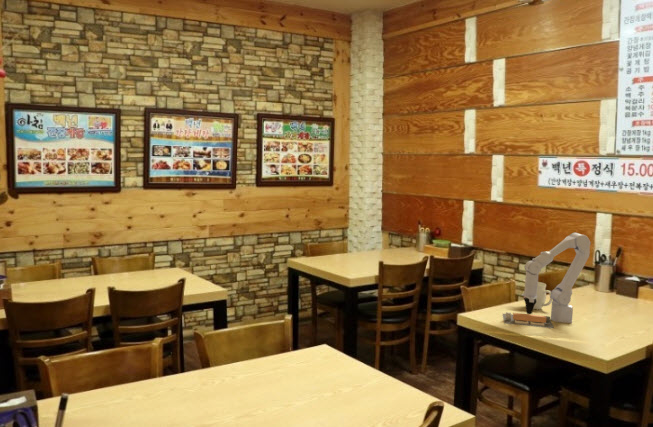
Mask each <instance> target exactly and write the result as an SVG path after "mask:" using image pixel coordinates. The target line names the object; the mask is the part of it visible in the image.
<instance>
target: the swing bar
mask: <svg viewBox="0 0 653 427" xmlns="http://www.w3.org/2000/svg"><path fill="white" fill-rule="evenodd" d="M512 315H513V320H523V321H533V322H543V323H550V321H551V316H549V315H540V314H527V313H520V312H519V313H518V312H512Z"/></svg>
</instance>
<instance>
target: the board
mask: <svg viewBox="0 0 653 427" xmlns="http://www.w3.org/2000/svg"><path fill="white" fill-rule="evenodd" d="M502 319H503V324H504V325H506V324H507V325H517V326H525V327H536V328H546V329H555V327H554V325H553V323H552V320H550V323H544V326H542V325H532V324H530V321H528V324H523V323H515V321H514V320H513V313H511V312H508V311H507V312H505V313H502Z"/></svg>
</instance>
